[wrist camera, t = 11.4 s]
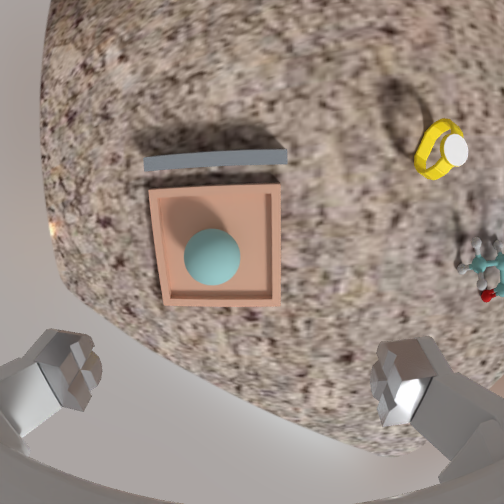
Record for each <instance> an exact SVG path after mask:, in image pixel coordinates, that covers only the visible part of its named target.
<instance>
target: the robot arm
mask: <svg viewBox="0 0 504 504" xmlns="http://www.w3.org/2000/svg"><path fill="white" fill-rule="evenodd" d="M93 348H94V343H93V341H92V338H91V337H90V336H88V335H86V334H81V333H75V332H69V331H64V330H57V329H52V328H51V329H47V330H46V331H45V332H44V333H43V334H42V335H41V336H40V338H39V339H38V340H37V341H36V342H35V343H34V344H33V346H32V347H31V348H30V349H29V350H28V351H27V353H26V354H25V355H24V356H23V357H22V358H17V359H15V360H13V361H10V362H8V363H6V364H4V365H2V366H0V504H181V503H175V502H170V501H165V500H158V499H154V498H149V497H145V496H140V495H136V494H132V493H128V492H124V491H120V490H117V489H113V488H110V487H106V486H103V485H100V484H96V483H94V482H90V481H87V480H85V479H82V478H79V477H76V476H73V475H71V474H68V473H65V472H63V471H60V470H57V469H55V468H53V467H51V466H48V465H46V464H43V463H41V462H39V461H36V460H35V459H33V458H30V457H28V455H29V453H30V448H29V446H28V445H27V444H26V443H25V442H24V440H23V439H22V438H23V437H24V436H25V435H27V434H28V433H29V432H30V431H32V430H33V429H35V428H36V427H37V426H39V425H40V424H41V423H43V422H44V421H45V420H47V419H48V418H49V417H50V416H52V415H53V414H54V413H56V412H57V411H58V410H60V409H61V408H62V407H66V408H70V409H74V410H78V411H82V412H84V410H85V408H86V406H87V404H88V403H89V401H90V399H91V397H92V395H91V391H90V390H92V389H93V388H95V387H97V386H98V384H99V382H100V380H101V375H102V364H101V361H100V358H99V357H98V356H97V355H96V354H95V353H94V352H93ZM376 354H377V356H378V359H379V360H378V361H377V362H376V363H375V364H374V365H373V367H372V371H371V379H370V384H371V391H372V394H373V397H374V398H376V399H377V400H378V401H380V402H379V404H378V407H377V411H378V414H379V417H380V420H381V424H382V427H384V426H391V425H398V424H405V423H410V424H411V425H412V426H413V427H414V428H415V429H416V430H417V431H418V432H419V433H420V434H421V435H423V436H424V437H425V438H426V439H427V440H428V441H429V442H430V443H431V444H432V445H433V446H435V447H436V448H437V449H438V450H439V451H440V452H441V453H442V454H443V455H444V456H446V457H447V458H448V459H449V460H450V461H451V462H450V463H449V464H448V465H447V466H446V467H445V469H444V470H443V471H442V472H441V473H440V475H439V476H438V478H439V481H440V484H437V485H434V486H431V487H428V488H424V489H421V490H417V491H414V492H410V493H406V494H402V495H397V496H393V497H388V498H384V499H379V500H374V501H368V502H362V503H356V504H504V398H502V397H500V396H499V395H497V394H495V393H493V392H491V391H490V390H488V389H486V388H485V387H483V386H481V385H480V384H478V383H476V382H474V381H473V380H471V379H469V378H468V377H466V376H464V375H462V374H461V373H459V372H457V373H454V372H453V370H452V369H451V367H450V365H449V364H448V362H447V360H446V359H445V357H444V355H443V354H442V352H441V351H440V349H439V347H438V346H437V344H436V343H435V341H434V340H433V338H432V337H430V336H424V337H417V338H413V339H403V340H393V341H383V342H380V344H379V346H378V349H377V352H376ZM61 406H62V407H61Z"/></svg>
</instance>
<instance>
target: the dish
mask: <svg viewBox="0 0 504 504" xmlns="http://www.w3.org/2000/svg"><path fill="white" fill-rule="evenodd" d="M148 191H149V201H150V211H151V220H152V228H153V236H154V244H155V251H156V258H157V265H158V272H159V278H160V284H161V290H162V296H163V302H164V305H166V306H215V307H265V306H281V185H280V183H235V184H210V185H190V186H174V187H159V188H152V189H150V190H148ZM205 229H219V230H222V231H225V232H226V233H228V234H229V235H231V236H232V237H233V238H234V240H235V241H236V243H237V244H238V247H239V250H240V264H239V267H238V270H237V272H236V273H235V275H234V276H233V277H232V278H231V279H229V280H228V281H227V282H225V283H222V284H219V285H205V284H202V283H200V282H198V281H196V280H195V279H194V278H192V277H191V275H190V274H189V273H188V271H187V269H186V267H185V263H184V251H185V247H186V245H187V243H188V241H189V240H190V239H191V237H193V236H194V235H195V234H196V233H198V232H200V231H202V230H205Z"/></svg>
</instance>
